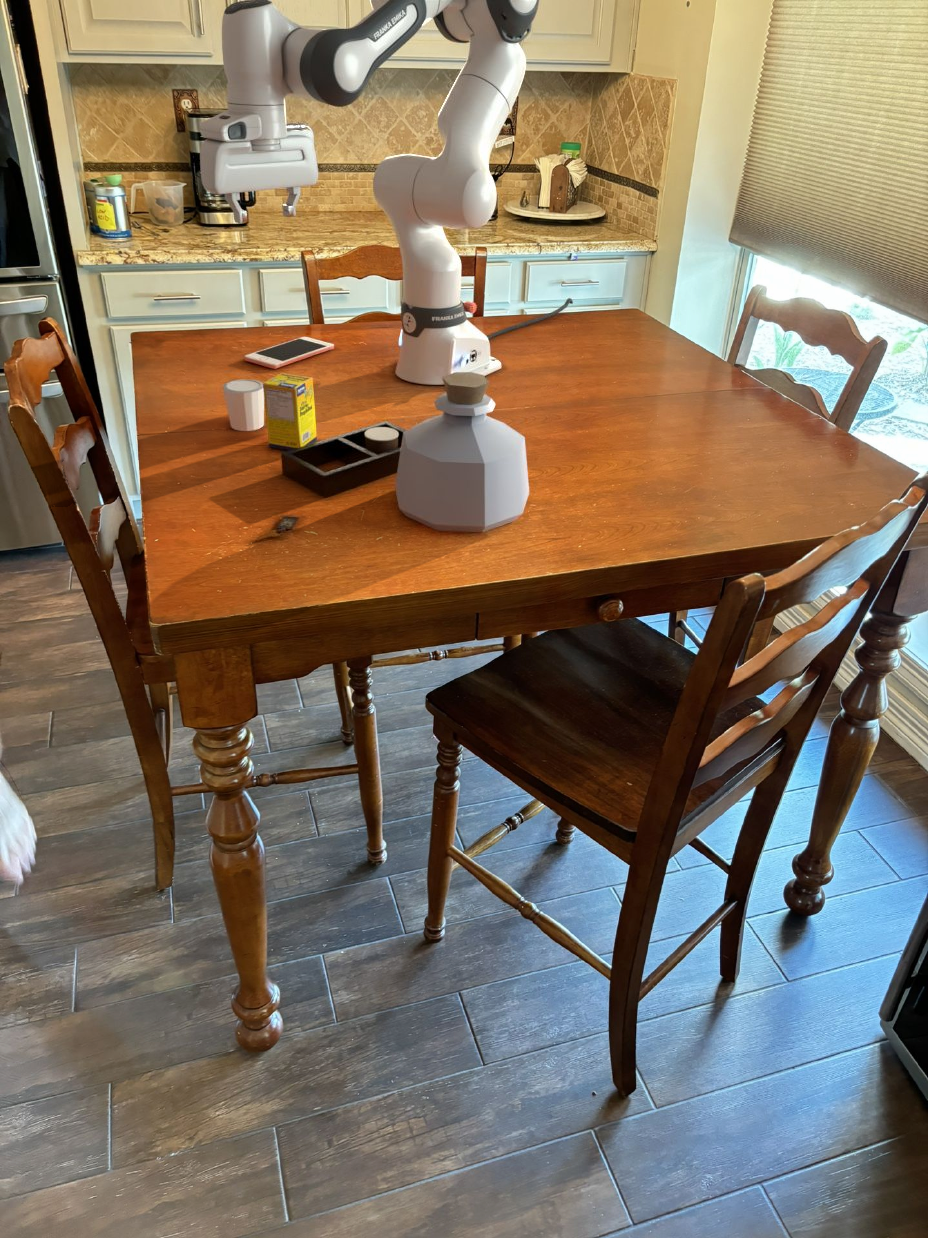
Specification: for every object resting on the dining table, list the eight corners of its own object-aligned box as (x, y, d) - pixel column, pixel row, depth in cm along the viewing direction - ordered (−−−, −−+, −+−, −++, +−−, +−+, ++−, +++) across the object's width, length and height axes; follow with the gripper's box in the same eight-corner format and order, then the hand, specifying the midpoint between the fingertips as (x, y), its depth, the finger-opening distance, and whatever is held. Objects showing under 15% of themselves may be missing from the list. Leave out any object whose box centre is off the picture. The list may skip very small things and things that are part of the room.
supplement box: (317, 440, 152) (313, 376, 146) (300, 453, 148) (295, 388, 142) (285, 434, 154) (280, 371, 148) (268, 447, 149) (262, 382, 143)
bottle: (470, 465, 146) (475, 347, 136) (554, 510, 134) (567, 385, 123) (366, 496, 135) (363, 371, 125) (447, 549, 123) (450, 415, 112)
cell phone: (243, 360, 185) (243, 355, 185) (304, 340, 198) (304, 335, 197) (275, 369, 181) (274, 364, 181) (335, 348, 194) (335, 344, 193)
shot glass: (258, 434, 154) (254, 394, 150) (220, 429, 155) (215, 389, 151) (273, 419, 159) (270, 380, 156) (236, 415, 160) (232, 376, 157)
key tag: (285, 515, 129) (285, 511, 129) (304, 519, 128) (304, 515, 128) (254, 540, 123) (254, 536, 122) (274, 545, 122) (273, 541, 122)
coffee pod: (384, 449, 150) (383, 424, 148) (405, 459, 147) (405, 434, 145) (358, 458, 147) (357, 432, 144) (379, 468, 144) (379, 442, 141)
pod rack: (386, 440, 153) (385, 420, 152) (430, 460, 147) (430, 440, 145) (282, 474, 141) (280, 452, 139) (325, 497, 135) (324, 476, 133)
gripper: (300, 119, 150) (306, 210, 158) (190, 124, 138) (201, 222, 146) (323, 123, 147) (328, 215, 154) (212, 128, 134) (222, 228, 142)
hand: (265, 219), depth 150 cm, fingers open, 8 cm apart
